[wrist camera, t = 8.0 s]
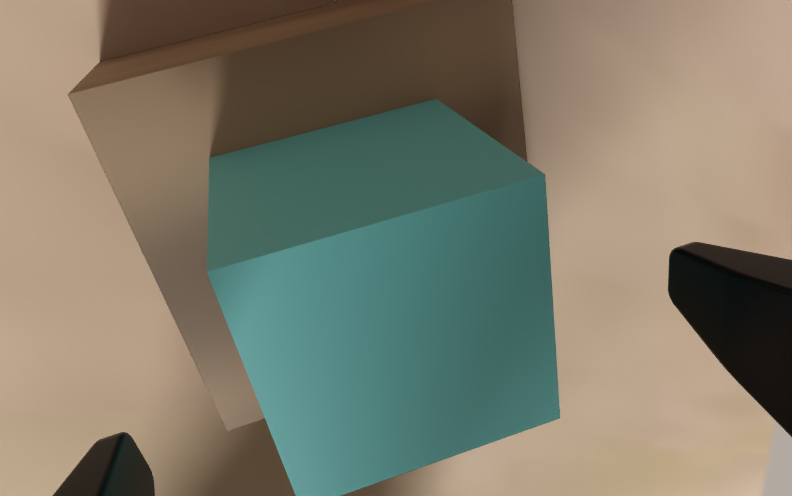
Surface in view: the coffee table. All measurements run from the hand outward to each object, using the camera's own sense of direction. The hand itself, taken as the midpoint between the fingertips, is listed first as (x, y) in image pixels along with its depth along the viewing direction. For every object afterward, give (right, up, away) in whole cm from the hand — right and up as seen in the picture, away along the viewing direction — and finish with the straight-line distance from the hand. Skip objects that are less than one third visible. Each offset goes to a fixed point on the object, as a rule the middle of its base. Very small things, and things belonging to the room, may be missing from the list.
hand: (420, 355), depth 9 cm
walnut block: (-2, +4, +8) cm, 9 cm away
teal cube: (-1, +2, +4) cm, 5 cm away
